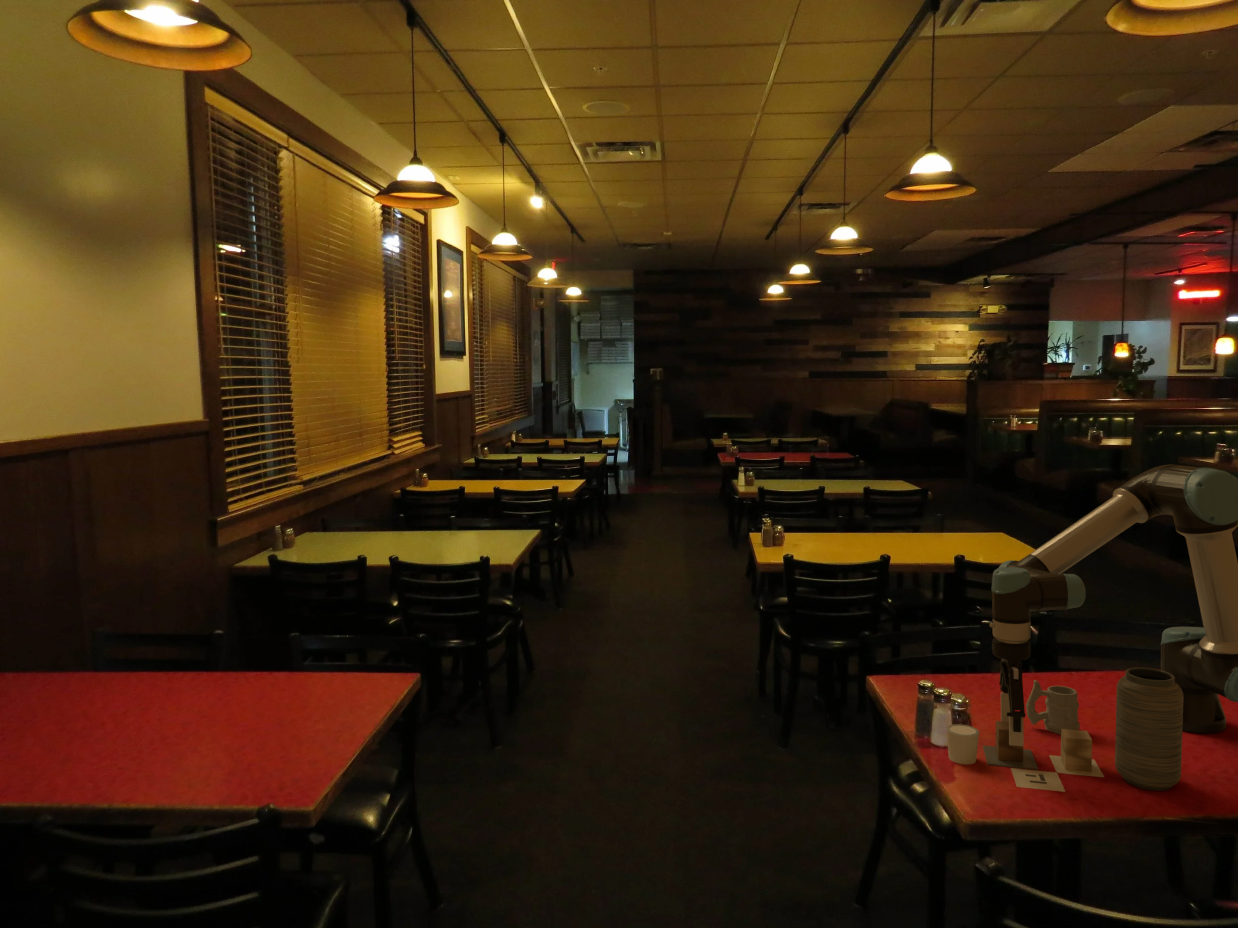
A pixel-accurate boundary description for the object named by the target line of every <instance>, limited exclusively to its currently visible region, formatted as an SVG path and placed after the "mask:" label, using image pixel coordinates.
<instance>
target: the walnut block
mask: <svg viewBox="0 0 1238 928" xmlns="http://www.w3.org/2000/svg"><path fill="white" fill-rule="evenodd" d="M995 746H996V750H995V751H996V754H997V757H998V760H1003V761H1014V762H1023V749H1024V746H1013V745H1010V744H1009V722H1007V721H1001V720H995Z"/></svg>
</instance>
